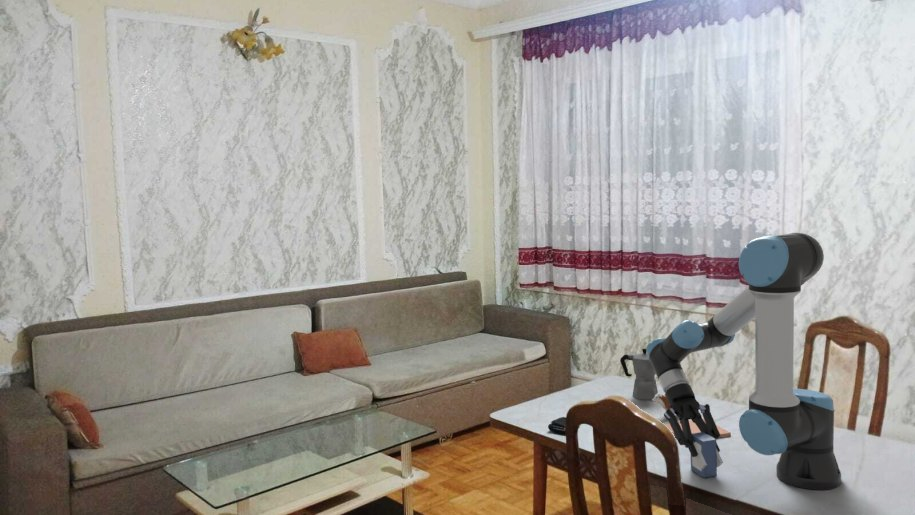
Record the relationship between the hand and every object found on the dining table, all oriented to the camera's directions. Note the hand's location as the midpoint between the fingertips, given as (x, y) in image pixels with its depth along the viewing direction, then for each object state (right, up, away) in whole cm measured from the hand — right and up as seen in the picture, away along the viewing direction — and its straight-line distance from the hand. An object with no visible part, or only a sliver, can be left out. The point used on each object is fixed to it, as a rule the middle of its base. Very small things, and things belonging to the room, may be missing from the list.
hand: (711, 465), depth 185 cm
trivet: (+7, 0, +35) cm, 35 cm away
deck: (-1, -3, +4) cm, 5 cm away
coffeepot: (+1, +4, +73) cm, 73 cm away
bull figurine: (+5, +2, +51) cm, 52 cm away
